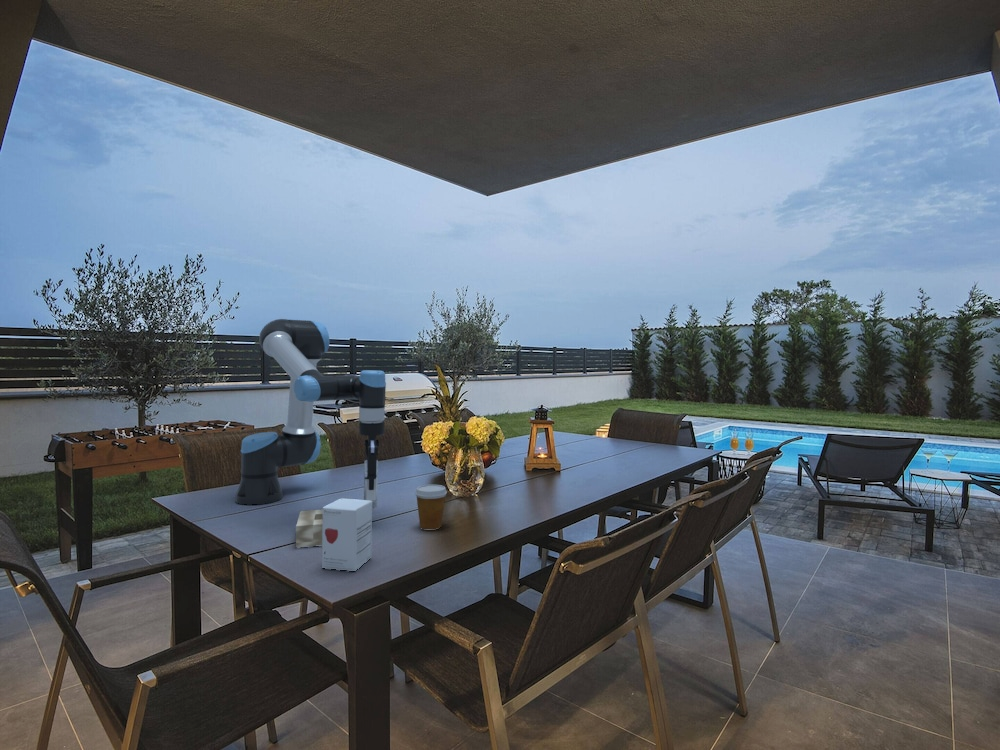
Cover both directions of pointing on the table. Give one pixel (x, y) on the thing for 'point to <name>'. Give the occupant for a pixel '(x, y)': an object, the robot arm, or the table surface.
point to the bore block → (309, 528)
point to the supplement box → (346, 534)
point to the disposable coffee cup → (430, 505)
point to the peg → (374, 502)
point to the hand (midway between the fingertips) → (370, 497)
